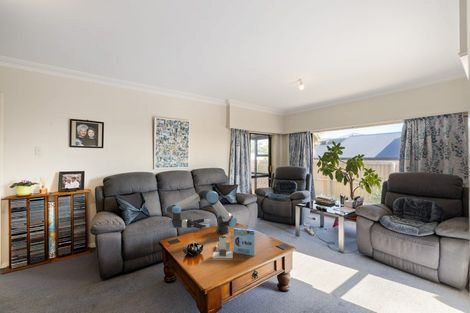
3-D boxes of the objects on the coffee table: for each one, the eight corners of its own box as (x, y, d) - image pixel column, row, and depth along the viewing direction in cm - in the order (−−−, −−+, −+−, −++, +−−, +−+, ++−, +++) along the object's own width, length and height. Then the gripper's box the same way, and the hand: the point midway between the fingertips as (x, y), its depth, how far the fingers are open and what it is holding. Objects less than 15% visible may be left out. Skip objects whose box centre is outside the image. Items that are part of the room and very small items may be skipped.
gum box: (255, 253, 192) (255, 229, 191) (254, 256, 187) (254, 231, 187) (235, 250, 197) (235, 227, 197) (233, 253, 193) (233, 228, 192)
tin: (219, 253, 191) (219, 236, 191) (226, 253, 191) (226, 236, 191) (219, 256, 186) (219, 238, 186) (226, 255, 186) (225, 238, 186)
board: (213, 252, 194) (213, 251, 194) (232, 252, 194) (232, 251, 194) (212, 258, 182) (212, 258, 182) (232, 258, 182) (232, 257, 182)
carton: (217, 246, 207) (217, 232, 207) (230, 246, 207) (230, 231, 207) (216, 251, 195) (216, 236, 195) (230, 251, 195) (230, 236, 195)
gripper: (189, 223, 203) (211, 222, 204) (184, 232, 178) (209, 232, 179) (189, 215, 203) (211, 215, 204) (184, 224, 178) (208, 223, 179)
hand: (210, 223), depth 192 cm, fingers open, 13 cm apart
